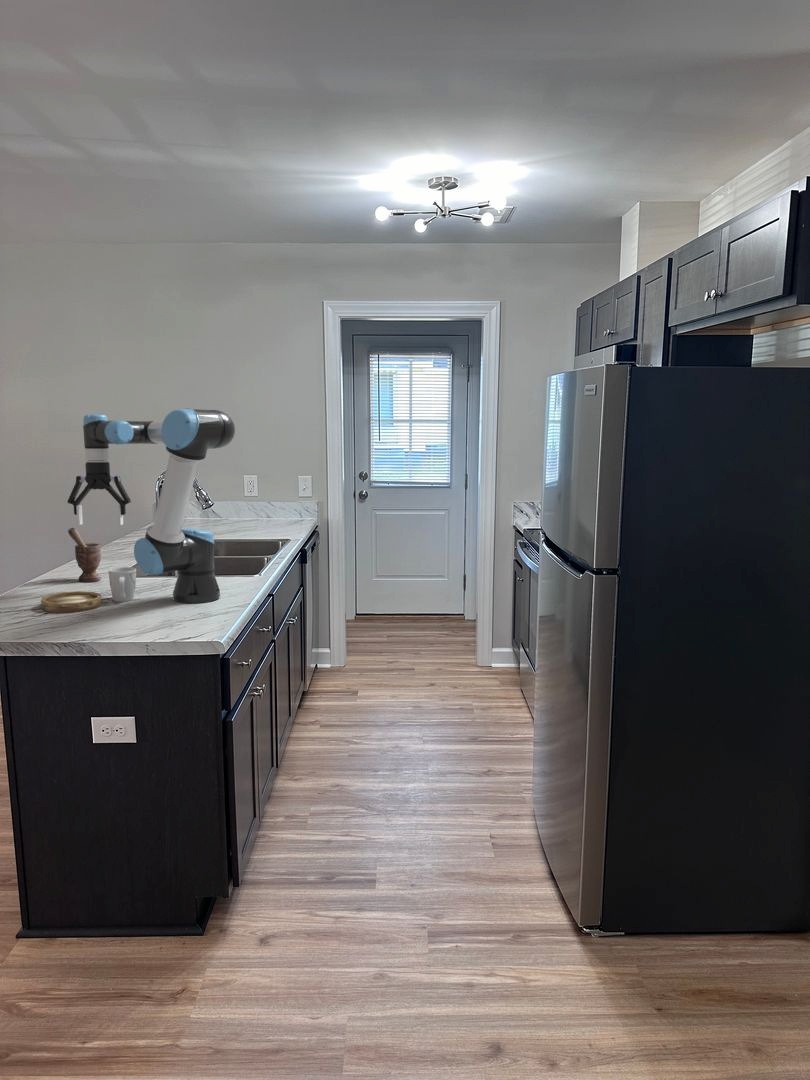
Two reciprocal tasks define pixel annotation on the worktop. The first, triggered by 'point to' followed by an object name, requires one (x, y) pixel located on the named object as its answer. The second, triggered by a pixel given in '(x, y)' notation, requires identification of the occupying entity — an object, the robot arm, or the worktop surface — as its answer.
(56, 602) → the round wooden tray
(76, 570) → the worktop surface
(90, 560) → the mortar and pestle
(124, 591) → the mug
